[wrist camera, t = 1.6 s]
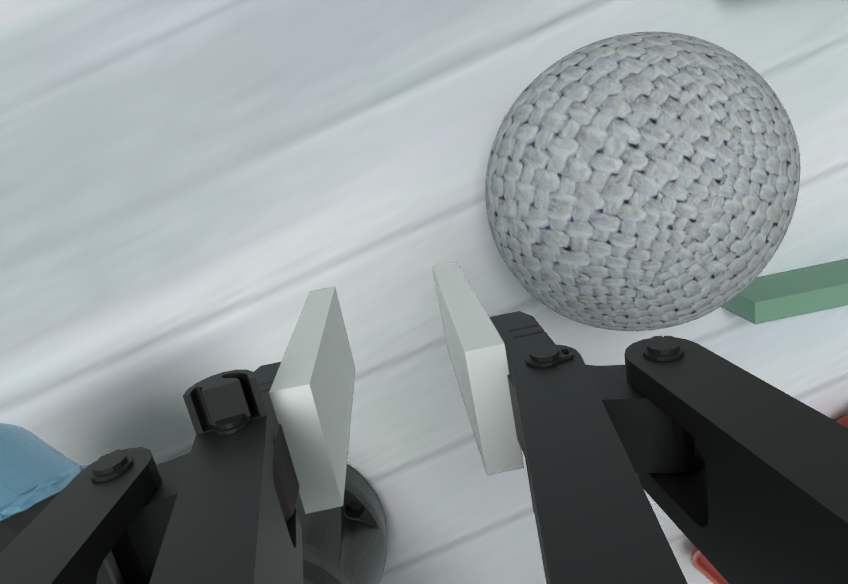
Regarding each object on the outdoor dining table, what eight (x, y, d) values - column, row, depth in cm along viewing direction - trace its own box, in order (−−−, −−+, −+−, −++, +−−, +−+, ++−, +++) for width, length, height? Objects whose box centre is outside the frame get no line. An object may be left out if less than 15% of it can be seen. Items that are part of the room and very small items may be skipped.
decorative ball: (531, 7, 34) (645, -79, 19) (733, 115, 37) (963, 110, 22) (428, 235, 37) (460, 304, 23) (620, 318, 40) (756, 426, 26)
